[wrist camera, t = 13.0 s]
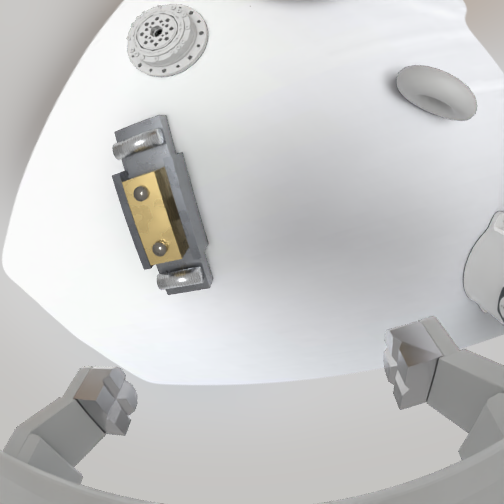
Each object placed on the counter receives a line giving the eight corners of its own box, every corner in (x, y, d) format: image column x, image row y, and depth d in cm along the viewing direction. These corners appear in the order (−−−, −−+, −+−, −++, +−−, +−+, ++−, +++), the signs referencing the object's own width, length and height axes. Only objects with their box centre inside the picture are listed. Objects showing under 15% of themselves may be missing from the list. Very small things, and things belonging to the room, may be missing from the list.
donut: (449, 102, 29) (496, 101, 20) (443, 124, 30) (490, 129, 21) (386, 67, 28) (425, 52, 19) (380, 91, 29) (418, 81, 20)
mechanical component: (117, 51, 28) (167, 92, 31) (101, 44, 24) (155, 88, 27) (170, -4, 25) (225, 34, 28) (159, -17, 21) (220, 22, 24)
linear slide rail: (172, 113, 32) (159, 111, 28) (218, 277, 40) (213, 295, 36) (118, 133, 33) (100, 135, 29) (167, 286, 41) (158, 303, 37)
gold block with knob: (164, 166, 32) (152, 172, 28) (189, 246, 36) (180, 261, 32) (134, 176, 32) (119, 183, 29) (160, 253, 36) (149, 267, 32)
